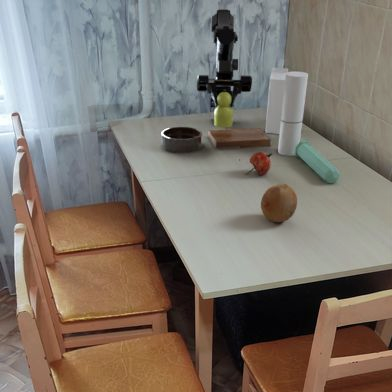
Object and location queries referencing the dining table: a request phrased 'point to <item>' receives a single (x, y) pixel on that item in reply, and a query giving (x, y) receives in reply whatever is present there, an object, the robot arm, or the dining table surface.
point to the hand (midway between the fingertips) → (224, 107)
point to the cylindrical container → (292, 112)
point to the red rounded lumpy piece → (260, 162)
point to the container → (316, 162)
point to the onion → (279, 203)
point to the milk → (275, 100)
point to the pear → (223, 111)
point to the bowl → (181, 139)
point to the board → (239, 138)
